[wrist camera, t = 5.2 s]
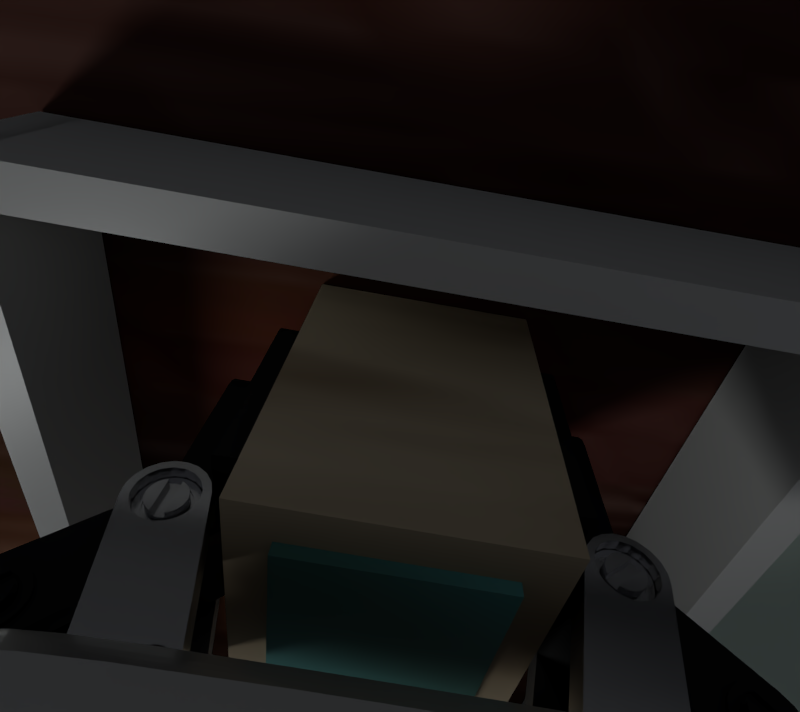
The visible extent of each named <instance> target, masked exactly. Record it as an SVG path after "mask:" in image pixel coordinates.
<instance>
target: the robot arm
mask: <svg viewBox="0 0 800 712" xmlns="http://www.w3.org/2000/svg"><path fill="white" fill-rule="evenodd" d="M298 334H299V331H295V330H289V329H283V328H281V329H280V330H279V331H278V333H277V335H276V337H275V339H274V340H273V342H272V344H271V346H270V348H269V349H268V351H267V353H266V355H265V357H264V359H263V360H262V362H261V364H260V366H259V368H258V369H257V371H256V373H255V375H254V377H253V378H252V380H251V382H250V381H244V380H238V379H234V380H232V381H231V382H230V384H229V385H228V387H227V388H226V390H225V392H224V393H223V395H222V396H221V398H220V400H219V401H218V403H217V405H216V406H215V408H214V410H213V411H212V413H211V415H210V416H209V418H208V419H207V421H206V423H205V424H204V426H203V428H202V429H201V431H200V433H199V434H198V436H197V438H196V439H195V441H194V443H193V444H192V446H191V447H190V449H189V451H188V452H187V454H186V456H185V457H184V459H183V461H182V462H180V461H171V462H161V463H158V464H155V465H152V466H149V467H146V468H145V469H143V470H141V471H139V472H138V473H136V474H134V475H133V476H132V477H131V478H130V479H129V480H128V481H127V482H126V483H125V484H124V486H123V488H122V489H121V491H120V493H119V495H118V498H117V500H116V503H115V506H114V508H112V509H110V510H107V511H105V512H102V513H100V514H98V515H95V516H93V517H90V518H88V519H85V520H83V521H80V522H78V523H75V524H73V525H70V526H68V527H66V528H63V529H61V530H58V531H56V532H53V533H51V534H48V535H46V536H43V537H41V538H38V539H36V540H33V541H31V542H29V543H26V544H24V545H21V546H19V547H16V548H14V549H11V550H9V551H6V552H4V553H1V554H0V712H799V711H798V710H797V709H796V707H795V706H794V705H793V704H792V703H791V702H790V701H789V700H788V699H786V698H785V697H784V696H783V695H782V694H781V693H780V692H779V691H778V690H777V689H775V688H774V687H773V686H772V685H771V684H769V683H768V682H767V681H766V680H765V679H763V678H762V677H761V676H760V675H758V674H757V673H756V672H755V671H754V670H752V669H751V668H750V667H749V666H748V665H746V664H745V663H744V662H743V661H741V660H740V659H739V658H738V657H737V656H735V655H734V654H733V653H732V652H731V651H729V650H728V649H727V648H726V647H725V646H723V645H722V644H721V643H720V642H718V641H717V640H716V639H715V638H714V637H712V636H711V635H710V634H709V633H708V632H706V631H705V630H704V629H703V628H702V627H700V626H699V625H698V624H697V623H695V622H694V621H693V620H692V619H691V618H689V617H688V616H687V615H686V614H685V613H683V612H682V611H681V610H680V609H678V608H677V607H676V606H675V604H674V598H673V591H672V585H671V582H670V579H669V575H668V573H667V571H666V570H665V568H664V566H663V565H662V563H661V562H660V561H659V560H658V559H657V558H656V556H655V555H654V554H653V553H652V552H651V551H650V550H648V549H647V548H645V547H644V546H643V545H641V544H640V543H638V542H636V541H634V540H632V539H630V538H628V537H626V536H621V535H617V534H613V532H612V529H611V525H610V522H609V519H608V516H607V513H606V510H605V507H604V504H603V501H602V498H601V495H600V492H599V488H598V485H597V482H596V479H595V476H594V473H593V470H592V467H591V464H590V461H589V458H588V454H587V451H586V448H585V445H584V443H583V441H582V440H581V439H580V438H578V437H572V436H571V433H570V430H569V426H568V423H567V420H566V416H565V413H564V410H563V406H562V403H561V400H560V396H559V393H558V389H557V386H556V383H555V379H554V377H553V375H550V374H544V373H541V376H542V380H543V384H544V388H545V391H546V395H547V399H548V403H549V406H550V410H551V414H552V417H553V421H554V425H555V429H556V432H557V436H558V440H559V444H560V447H561V451H562V455H563V459H564V462H565V466H566V470H567V474H568V477H569V481H570V485H571V489H572V492H573V496H574V500H575V504H576V507H577V511H578V515H579V518H580V522H581V526H582V530H583V533H584V537H585V541H586V545H587V548H588V552H589V556H590V561H589V563H588V565H587V567H586V568H585V570H584V572H583V573H582V575H581V577H580V579H579V580H578V582H577V584H576V586H575V587H574V589H573V591H572V592H571V594H570V596H569V598H568V599H567V601H566V603H565V604H564V606H563V608H562V610H561V611H560V613H559V615H558V616H557V618H556V620H555V622H554V623H553V625H552V627H551V628H550V630H549V632H548V634H547V635H546V637H545V639H544V640H543V642H542V644H541V646H540V647H539V649H538V651H537V652H536V654H535V656H534V658H533V659H532V661H531V663H530V664H529V666H528V675H527V685H526V695H525V705H524V704H518V703H512V702H506V701H500V700H494V699H488V698H482V697H475V696H469V695H463V694H457V693H451V692H444V691H438V690H432V689H426V688H420V687H413V686H407V685H401V684H395V683H389V682H382V681H376V680H370V679H364V678H357V677H351V676H345V675H339V674H332V673H326V672H320V671H314V670H307V669H301V668H295V667H288V666H282V665H275V664H269V663H262V662H256V661H250V660H243V659H237V658H230V657H224V656H217V655H212V651H213V644H214V637H215V629H216V622H217V615H218V608H219V601H220V597H222V596H224V595H225V589H224V573H223V557H222V541H221V525H220V509H219V497H220V495H221V493H222V491H223V489H224V486H225V484H226V482H227V480H228V478H229V476H230V474H231V472H232V470H233V468H234V466H235V464H236V462H237V460H238V458H239V455H240V453H241V451H242V449H243V447H244V445H245V443H246V441H247V439H248V437H249V435H250V433H251V431H252V429H253V427H254V424H255V422H256V420H257V418H258V416H259V414H260V412H261V410H262V408H263V406H264V404H265V402H266V400H267V398H268V396H269V393H270V391H271V389H272V387H273V385H274V383H275V381H276V379H277V377H278V375H279V373H280V371H281V369H282V367H283V365H284V362H285V360H286V358H287V356H288V354H289V352H290V350H291V348H292V346H293V344H294V342H295V340H296V338H297V336H298Z"/></svg>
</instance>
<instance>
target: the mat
mask: <svg viewBox="0 0 800 712" xmlns="http://www.w3.org/2000/svg"><path fill="white" fill-rule="evenodd" d="M709 634H710V635H711V636H712V637H714V638H715V639H716V640H717V641H718V642H720V643H721V644H722V645H723V646H725V647H726V648H727V649H728V650H729V651H731V652H732V653H733V654H734V655H735V656H737V657H738V658H739V659H740V660H741V661H743V662H744V663H745V664H746V665H748V666H749V667H750V668H751V669H752V670H754V671H755V672H756V673H757V674H758V675H760V676H761V677H762V678H763V679H765V680H766V681H767V682H768V683H769V684H771V685H772V686H773V687H774V688H775V689H777V690H778V691H779V692H780V693H781V694H782V695H783V696H784V697H785V698H786V699H788V700H789V701H790V702H791V703H792V704H793V705H794V706H795V707H796V709H797V710H798V711H799V712H800V534H799V535H798V536H797V538H796V539H795V540H794V541H793V542H792V543H791V544H790V545H789V546H788V547H787V549H786V550H785V551H784V552H783V553H782V554H781V555H780V556H779V557H778V558H777V559H776V561H775V562H774V563H773V564H772V565H771V566H770V567H769V568H768V569H767V570H766V572H765V573H764V574H763V575H762V576H761V577H760V578H759V579H758V580H757V581H756V582H755V584H754V585H753V586H752V587H751V588H750V589H749V590H748V591H747V592H746V593H745V594H744V596H743V597H742V598H741V599H740V600H739V601H738V602H737V603H736V604H735V605H734V607H733V608H732V609H731V610H730V611H729V612H728V613H727V614H726V615H725V616H724V617H723V619H722V620H721V621H720V622H719V623H718V624H717V625H716V626H715V627H714V628H713V630H712V631H711V632H710V633H709Z"/></svg>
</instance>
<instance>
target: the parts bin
mask: <svg viewBox="0 0 800 712" xmlns="http://www.w3.org/2000/svg"><path fill="white" fill-rule="evenodd" d="M102 232H104V233H110V234H116V235H121V236H127V237H133V238H139V239H144V240H150V241H156V242H161V243H167V244H173V245H178V246H184V247H190V248H196V249H201V250H207V251H213V252H218V253H224V254H230V255H235V256H241V257H247V258H253V259H258V260H264V261H270V262H275V263H281V264H287V265H292V266H298V267H304V268H310V269H315V270H321V271H327V272H332V273H338V274H344V275H350V276H355V277H361V278H367V279H372V280H378V281H384V282H389V283H395V284H401V285H407V286H412V287H418V288H424V289H429V290H435V291H441V292H446V293H452V294H458V295H464V296H469V297H475V298H481V299H486V300H492V301H498V302H503V303H509V304H515V305H521V306H526V307H532V308H538V309H543V310H549V311H555V312H561V313H566V314H572V315H578V316H583V317H589V318H595V319H600V320H606V321H612V322H618V323H623V324H629V325H635V326H640V327H646V328H652V329H657V330H663V331H669V332H675V333H680V334H686V335H692V336H697V337H703V338H709V339H714V340H720V341H726V342H732V343H737V344H743V345H746V346H745V347H744V349H743V350H742V352H741V354H740V355H739V357H738V358H737V360H736V362H735V363H734V365H733V366H732V368H731V370H730V371H729V373H728V374H727V376H726V378H725V379H724V381H723V382H722V384H721V386H720V387H719V389H718V390H717V392H716V394H715V395H714V397H713V398H712V400H711V402H710V403H709V405H708V406H707V408H706V410H705V411H704V413H703V415H702V416H701V418H700V419H699V421H698V423H697V424H696V426H695V427H694V429H693V431H692V432H691V434H690V435H689V437H688V439H687V440H686V442H685V443H684V445H683V447H682V448H681V450H680V451H679V453H678V455H677V456H676V458H675V459H674V461H673V463H672V464H671V466H670V467H669V469H668V471H667V472H666V474H665V475H664V477H663V479H662V480H661V482H660V483H659V485H658V487H657V488H656V490H655V491H654V493H653V495H652V496H651V498H650V499H649V501H648V503H647V504H646V506H645V507H644V509H643V511H642V512H641V514H640V515H639V517H638V519H637V520H636V522H635V523H634V525H633V527H632V528H631V530H630V531H629V533H628V535H627V536H626V537H628V538H630V539H632V540H634V541H636V542H638V543H640V544H641V545H643V546H644V547H645V548H647V549H648V550H650V551H651V552H652V553H653V554H654V555H655V556H656V558H657V559H658V560H659V561H660V562H661V563H662V565H663V566H664V568H665V570H666V571H667V573H668V575H669V579H670V582H671V585H672V591H673V598H674V604H675V606H676V607H677V608H678V609H680V610H681V611H682V612H683V613H685V614H686V615H687V616H688V617H689V618H691V619H692V620H693V621H694V622H695V623H697V624H698V625H699V626H700V627H702V628H703V629H704V630H705V631H706V632H708V633H710V632H711V631H712V630H713V628H714V627H715V626H716V625H717V624H718V623H719V622H720V621H721V620H722V619H723V617H724V616H725V615H726V614H727V613H728V612H729V611H730V610H731V609H732V608H733V607H734V605H735V604H736V603H737V602H738V601H739V600H740V599H741V598H742V597H743V596H744V594H745V593H746V592H747V591H748V590H749V589H750V588H751V587H752V586H753V585H754V584H755V582H756V581H757V580H758V579H759V578H760V577H761V576H762V575H763V574H764V573H765V572H766V570H767V569H768V568H769V567H770V566H771V565H772V564H773V563H774V562H775V561H776V559H777V558H778V557H779V556H780V555H781V554H782V553H783V552H784V551H785V550H786V549H787V547H788V546H789V545H790V544H791V543H792V542H793V541H794V540H795V539H796V538H797V536H798V535H799V534H800V248H798V247H793V246H787V245H782V244H776V243H771V242H765V241H759V240H754V239H748V238H743V237H737V236H732V235H726V234H720V233H715V232H709V231H704V230H698V229H692V228H687V227H681V226H676V225H670V224H665V223H659V222H653V221H648V220H642V219H637V218H631V217H626V216H620V215H614V214H609V213H603V212H598V211H592V210H586V209H581V208H575V207H570V206H564V205H559V204H553V203H547V202H542V201H536V200H531V199H525V198H520V197H514V196H508V195H503V194H497V193H492V192H486V191H481V190H475V189H469V188H464V187H458V186H453V185H447V184H441V183H436V182H430V181H425V180H419V179H414V178H408V177H402V176H397V175H391V174H386V173H380V172H375V171H369V170H363V169H358V168H352V167H347V166H341V165H335V164H330V163H324V162H319V161H313V160H308V159H302V158H296V157H291V156H285V155H280V154H274V153H269V152H263V151H257V150H252V149H246V148H241V147H235V146H229V145H224V144H218V143H213V142H207V141H202V140H196V139H190V138H185V137H179V136H174V135H168V134H163V133H157V132H151V131H146V130H140V129H135V128H129V127H123V126H118V125H112V124H107V123H101V122H96V121H90V120H84V119H79V118H73V117H68V116H62V115H57V114H51V113H45V112H40V111H39V112H34V113H29V114H25V115H20V116H15V117H11V118H6V119H1V120H0V430H1V433H2V435H3V438H4V441H5V443H6V446H7V449H8V452H9V454H10V457H11V460H12V463H13V465H14V468H15V471H16V473H17V476H18V479H19V482H20V484H21V487H22V490H23V492H24V495H25V498H26V501H27V503H28V506H29V509H30V511H31V514H32V517H33V520H34V522H35V525H36V528H37V530H38V533H39V536H40V538H41V537H43V536H46V535H48V534H51V533H53V532H56V531H58V530H61V529H63V528H66V527H68V526H70V525H73V524H75V523H78V522H80V521H83V520H85V519H88V518H90V517H93V516H95V515H98V514H100V513H102V512H105V511H107V510H110V509H112V508H114V506H115V503H116V500H117V498H118V495H119V493H120V491H121V489H122V488H123V486H124V484H125V483H126V482H127V481H128V480H129V479H130V478H131V477H132V476H133V475H134V474H136V473H138V472H139V471H141V470H143V468H142V462H141V457H140V451H139V445H138V439H137V434H136V428H135V422H134V416H133V411H132V405H131V399H130V393H129V388H128V382H127V376H126V370H125V365H124V359H123V353H122V347H121V342H120V336H119V330H118V324H117V319H116V313H115V307H114V301H113V296H112V290H111V284H110V278H109V273H108V267H107V261H106V255H105V250H104V244H103V238H102ZM522 704H524V705H525V700H524V701H523V703H522Z"/></svg>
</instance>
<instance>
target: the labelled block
mask: <svg viewBox="0 0 800 712" xmlns="http://www.w3.org/2000/svg"><path fill="white" fill-rule="evenodd" d="M219 509H220V525H221V541H222V557H223V573H224V589H225V606H226V622H227V638H228V654H229V657H230V658H237V659H243V660H250V661H256V662H262V663H269V664H275V665H282V666H288V667H295V668H301V669H307V670H314V671H320V672H326V673H332V674H339V675H345V676H351V677H357V678H364V679H370V680H376V681H382V682H389V683H395V684H401V685H407V686H413V687H420V688H426V689H432V690H438V691H444V692H451V693H457V694H463V695H469V696H475V697H482V698H488V699H494V700H500V701H506V702H508V700H509V699H510V697H511V695H512V694H513V692H514V690H515V688H516V687H517V685H518V683H519V682H520V680H521V678H522V676H523V675H524V673H525V671H526V670H527V668H528V666H529V664H530V663H531V661H532V659H533V658H534V656H535V654H536V652H537V651H538V649H539V647H540V646H541V644H542V642H543V640H544V639H545V637H546V635H547V634H548V632H549V630H550V628H551V627H552V625H553V623H554V622H555V620H556V618H557V616H558V615H559V613H560V611H561V610H562V608H563V606H564V604H565V603H566V601H567V599H568V598H569V596H570V594H571V592H572V591H573V589H574V587H575V586H576V584H577V582H578V580H579V579H580V577H581V575H582V573H583V572H584V570H585V568H586V567H587V565H588V563H589V561H590V556H589V552H588V548H587V545H586V541H585V537H584V533H583V530H582V526H581V522H580V518H579V515H578V511H577V507H576V504H575V500H574V496H573V492H572V489H571V485H570V481H569V477H568V474H567V470H566V466H565V462H564V459H563V455H562V451H561V447H560V444H559V440H558V436H557V432H556V429H555V425H554V421H553V417H552V414H551V410H550V406H549V403H548V399H547V395H546V391H545V388H544V384H543V380H542V376H541V373H540V369H539V365H538V361H537V358H536V354H535V350H534V346H533V343H532V339H531V335H530V331H529V328H528V324H527V320H526V319H521V318H515V317H509V316H503V315H498V314H492V313H486V312H480V311H475V310H469V309H463V308H457V307H452V306H446V305H440V304H434V303H429V302H423V301H417V300H411V299H406V298H400V297H394V296H388V295H382V294H377V293H371V292H365V291H359V290H354V289H348V288H342V287H336V286H331V285H325V284H322V286H321V288H320V290H319V292H318V294H317V296H316V298H315V300H314V303H313V305H312V307H311V309H310V311H309V313H308V315H307V317H306V319H305V321H304V323H303V325H302V327H301V329H300V331H299V334H298V336H297V338H296V340H295V342H294V344H293V346H292V348H291V350H290V352H289V354H288V356H287V358H286V360H285V362H284V365H283V367H282V369H281V371H280V373H279V375H278V377H277V379H276V381H275V383H274V385H273V387H272V389H271V391H270V393H269V396H268V398H267V400H266V402H265V404H264V406H263V408H262V410H261V412H260V414H259V416H258V418H257V420H256V422H255V424H254V427H253V429H252V431H251V433H250V435H249V437H248V439H247V441H246V443H245V445H244V447H243V449H242V451H241V453H240V455H239V458H238V460H237V462H236V464H235V466H234V468H233V470H232V472H231V474H230V476H229V478H228V480H227V482H226V484H225V486H224V489H223V491H222V493H221V495H220V497H219Z"/></svg>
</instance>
